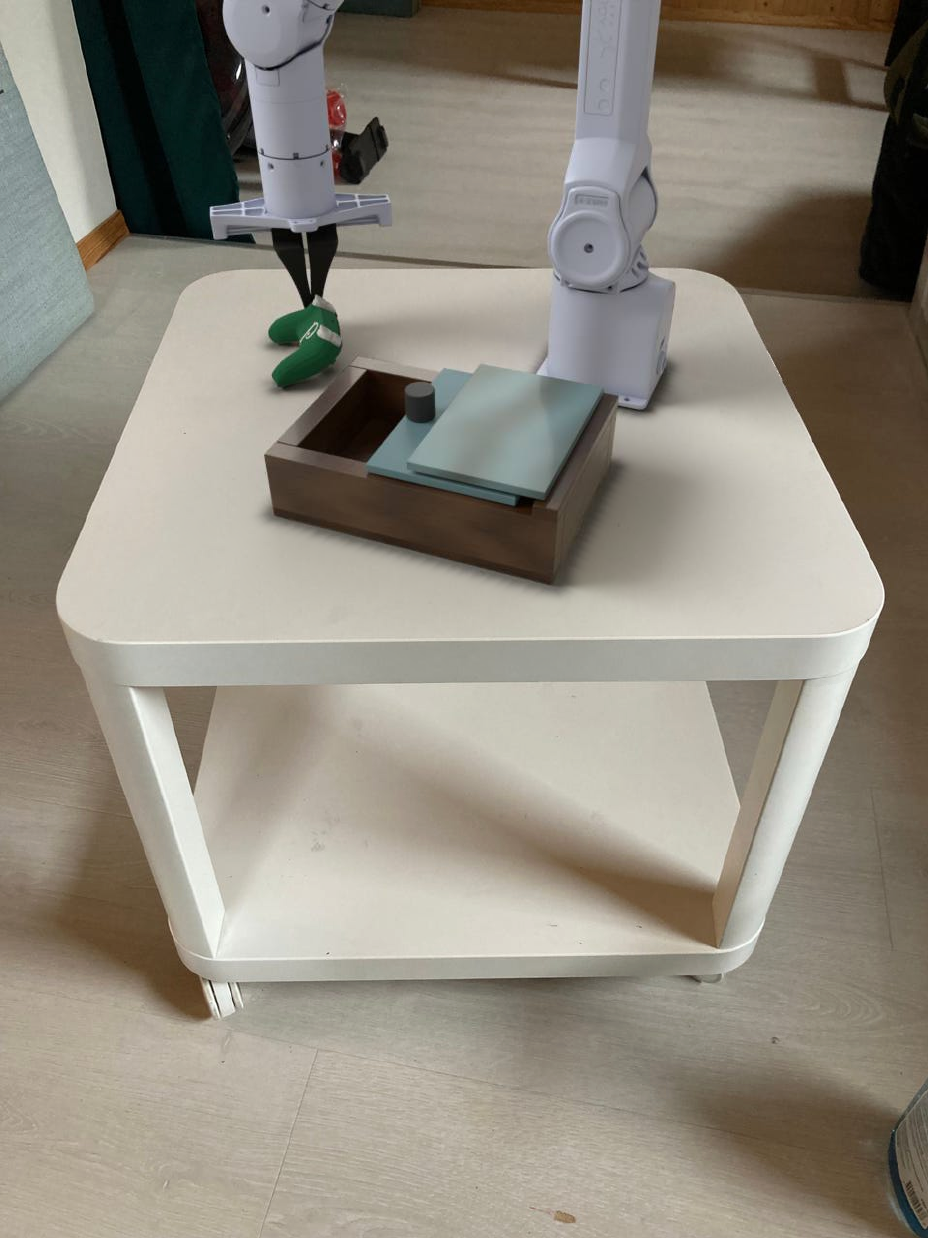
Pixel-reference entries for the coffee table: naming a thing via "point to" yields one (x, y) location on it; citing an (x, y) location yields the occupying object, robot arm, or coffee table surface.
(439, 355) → the coffee table surface
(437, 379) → the sliding lid with knob
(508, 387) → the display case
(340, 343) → the green and white boots
